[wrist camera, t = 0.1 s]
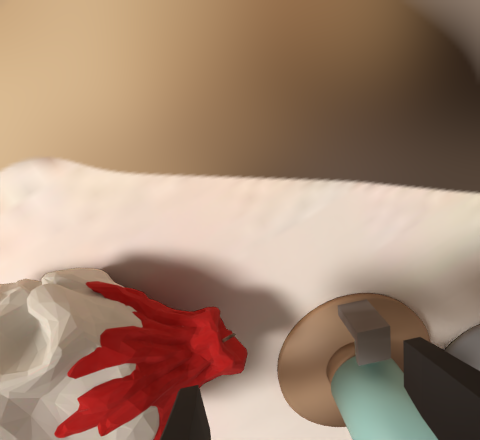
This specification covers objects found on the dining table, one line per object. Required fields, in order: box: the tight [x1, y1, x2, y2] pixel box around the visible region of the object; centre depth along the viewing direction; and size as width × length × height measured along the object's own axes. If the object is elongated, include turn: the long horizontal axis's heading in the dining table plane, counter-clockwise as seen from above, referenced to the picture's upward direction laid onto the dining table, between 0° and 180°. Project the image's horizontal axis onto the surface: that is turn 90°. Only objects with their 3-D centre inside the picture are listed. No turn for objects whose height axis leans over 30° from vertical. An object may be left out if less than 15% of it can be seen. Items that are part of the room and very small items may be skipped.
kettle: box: [331, 352, 438, 440], centre depth 19 cm, size 6×5×6 cm
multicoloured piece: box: [0, 268, 247, 440], centre depth 17 cm, size 9×11×15 cm
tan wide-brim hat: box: [277, 293, 430, 427], centre depth 22 cm, size 11×11×4 cm
